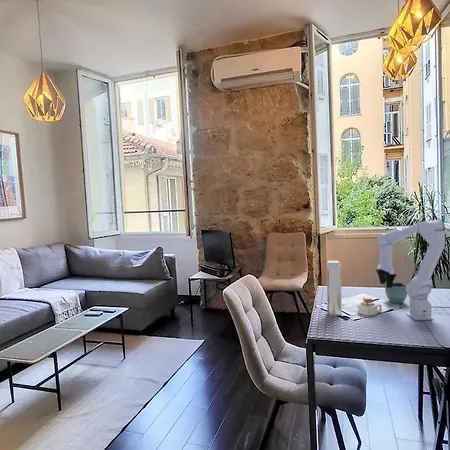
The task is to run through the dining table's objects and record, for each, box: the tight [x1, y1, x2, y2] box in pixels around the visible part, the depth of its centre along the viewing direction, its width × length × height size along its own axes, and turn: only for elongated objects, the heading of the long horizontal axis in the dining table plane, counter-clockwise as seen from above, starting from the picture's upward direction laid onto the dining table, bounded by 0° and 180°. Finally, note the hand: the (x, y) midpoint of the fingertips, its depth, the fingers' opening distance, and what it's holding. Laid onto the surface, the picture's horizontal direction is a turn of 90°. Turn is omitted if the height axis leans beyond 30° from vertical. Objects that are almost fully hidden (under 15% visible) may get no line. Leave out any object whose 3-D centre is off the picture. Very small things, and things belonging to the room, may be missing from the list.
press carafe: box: [357, 301, 383, 316], centre depth 186 cm, size 8×10×4 cm
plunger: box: [362, 296, 373, 306], centre depth 186 cm, size 5×5×6 cm
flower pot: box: [384, 282, 408, 304], centre depth 201 cm, size 9×9×9 cm
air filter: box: [326, 260, 343, 317], centre depth 185 cm, size 6×6×25 cm
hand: (386, 285), depth 193 cm, fingers open, 7 cm apart
